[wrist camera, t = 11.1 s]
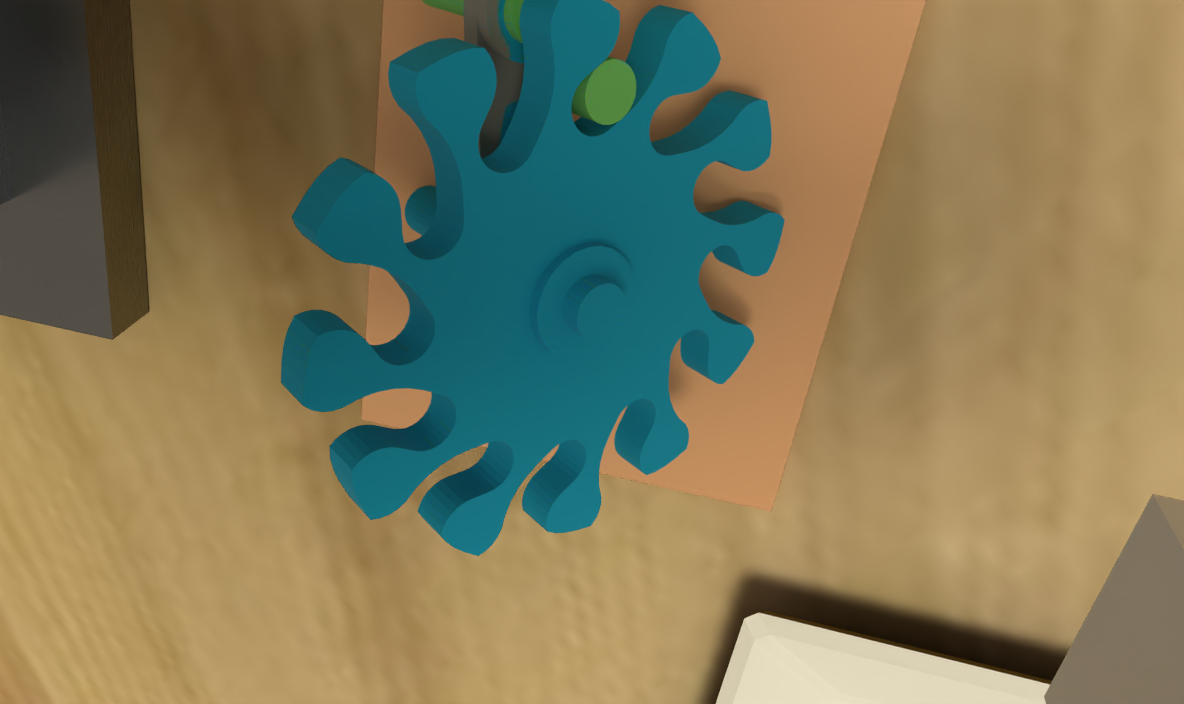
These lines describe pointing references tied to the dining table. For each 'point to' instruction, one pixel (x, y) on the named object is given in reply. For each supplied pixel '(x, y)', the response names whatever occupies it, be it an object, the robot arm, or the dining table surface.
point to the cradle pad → (782, 184)
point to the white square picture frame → (857, 670)
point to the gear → (535, 263)
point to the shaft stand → (70, 167)
